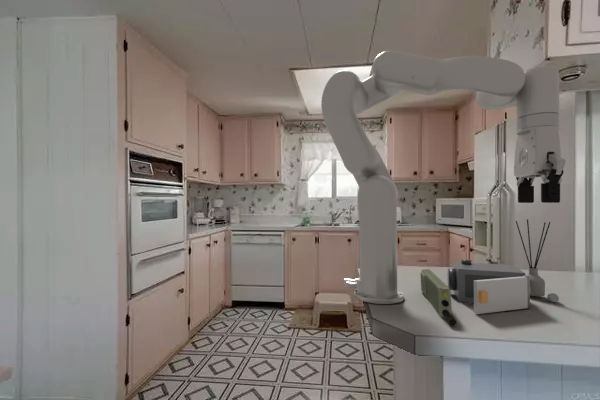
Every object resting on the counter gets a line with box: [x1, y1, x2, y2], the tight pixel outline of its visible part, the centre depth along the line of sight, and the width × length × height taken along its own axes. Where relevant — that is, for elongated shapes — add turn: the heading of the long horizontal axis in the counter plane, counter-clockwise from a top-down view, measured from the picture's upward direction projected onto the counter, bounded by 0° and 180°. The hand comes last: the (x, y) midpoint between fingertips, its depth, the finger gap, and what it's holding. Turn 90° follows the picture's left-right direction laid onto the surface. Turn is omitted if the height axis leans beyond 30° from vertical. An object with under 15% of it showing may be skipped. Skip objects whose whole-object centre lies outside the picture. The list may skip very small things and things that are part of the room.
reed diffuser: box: [515, 219, 560, 303], centre depth 80 cm, size 10×7×20 cm
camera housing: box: [446, 258, 526, 304], centre depth 79 cm, size 16×10×9 cm, turn 70°
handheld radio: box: [419, 268, 457, 326], centre depth 73 cm, size 7×3×25 cm
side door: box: [473, 274, 531, 315], centre depth 69 cm, size 15×2×7 cm, turn 105°
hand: (537, 202), depth 68 cm, fingers open, 9 cm apart
